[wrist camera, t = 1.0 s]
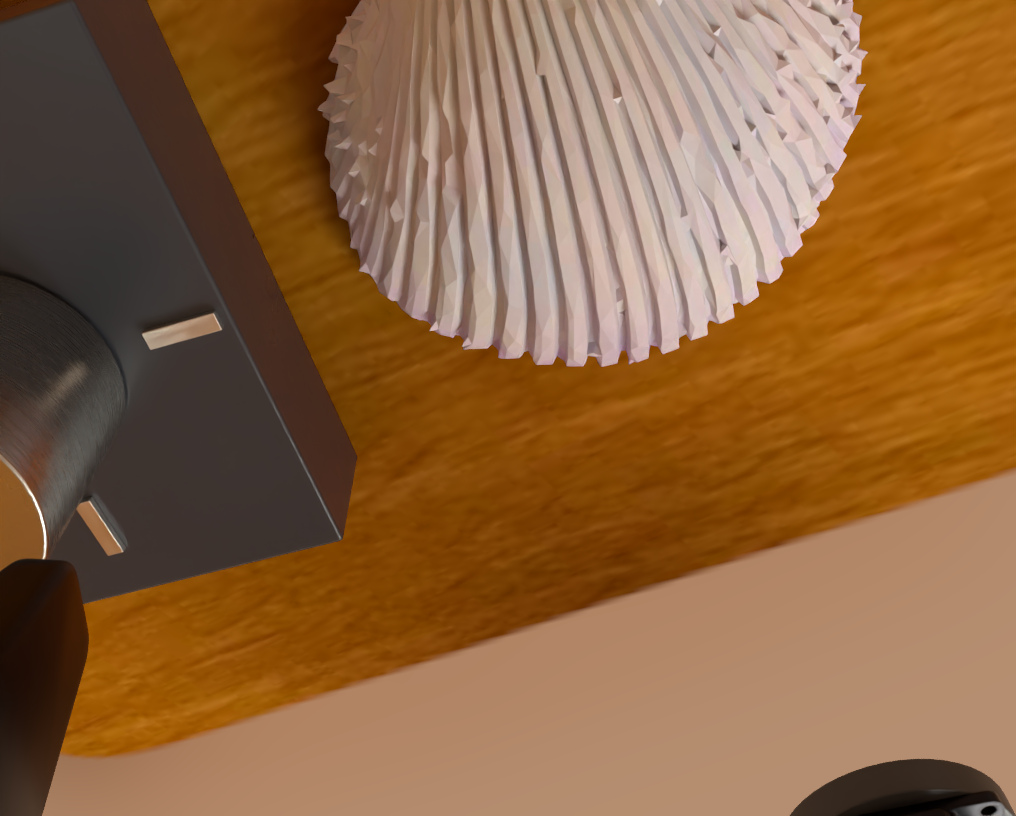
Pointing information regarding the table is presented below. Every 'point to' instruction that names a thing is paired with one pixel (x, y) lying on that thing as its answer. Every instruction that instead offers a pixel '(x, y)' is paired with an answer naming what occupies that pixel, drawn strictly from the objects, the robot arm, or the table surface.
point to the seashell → (586, 160)
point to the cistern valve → (160, 306)
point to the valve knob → (49, 416)
